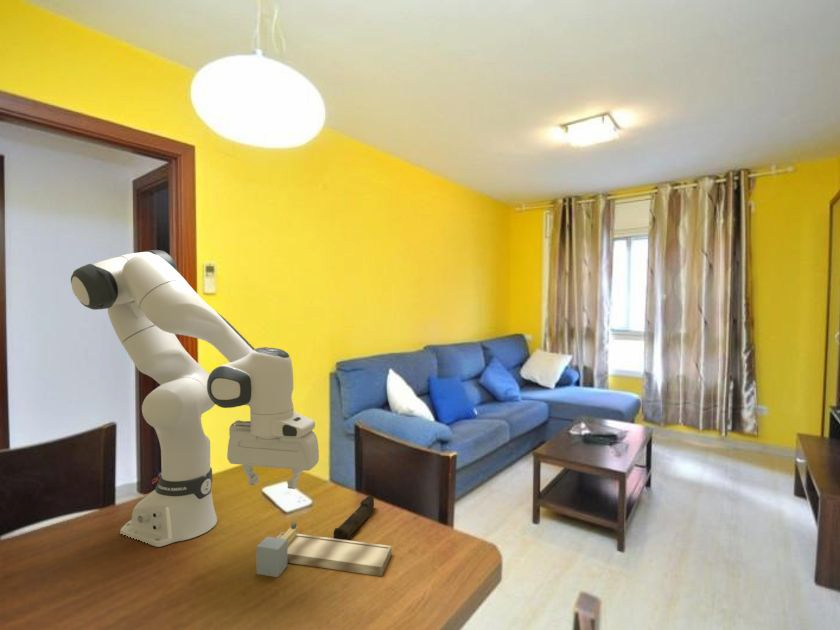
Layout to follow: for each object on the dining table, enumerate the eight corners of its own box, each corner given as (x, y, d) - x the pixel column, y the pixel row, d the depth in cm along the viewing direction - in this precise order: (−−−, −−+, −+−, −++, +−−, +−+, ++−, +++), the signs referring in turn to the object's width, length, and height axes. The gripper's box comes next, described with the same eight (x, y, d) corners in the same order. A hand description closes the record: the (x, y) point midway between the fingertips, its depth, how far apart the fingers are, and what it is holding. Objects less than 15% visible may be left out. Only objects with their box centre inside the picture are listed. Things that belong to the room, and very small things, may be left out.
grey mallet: (256, 574, 90) (256, 546, 90) (285, 542, 102) (285, 518, 102) (277, 577, 89) (277, 549, 89) (304, 545, 101) (304, 520, 101)
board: (263, 558, 95) (263, 549, 95) (281, 539, 103) (281, 531, 103) (381, 576, 90) (381, 566, 90) (391, 554, 98) (391, 545, 98)
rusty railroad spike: (346, 546, 101) (347, 527, 101) (332, 542, 103) (332, 524, 102) (382, 511, 119) (382, 494, 119) (369, 508, 120) (369, 492, 120)
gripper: (220, 423, 90) (221, 487, 90) (308, 430, 86) (308, 496, 86) (238, 416, 96) (239, 475, 96) (321, 421, 92) (322, 483, 92)
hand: (272, 485), depth 91 cm, fingers open, 8 cm apart
